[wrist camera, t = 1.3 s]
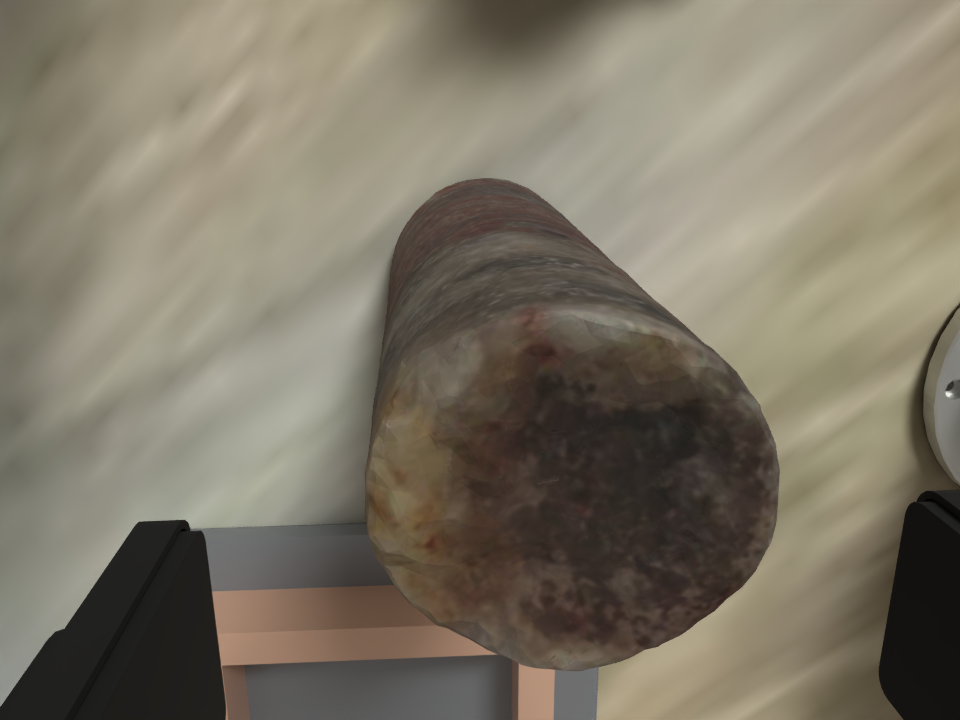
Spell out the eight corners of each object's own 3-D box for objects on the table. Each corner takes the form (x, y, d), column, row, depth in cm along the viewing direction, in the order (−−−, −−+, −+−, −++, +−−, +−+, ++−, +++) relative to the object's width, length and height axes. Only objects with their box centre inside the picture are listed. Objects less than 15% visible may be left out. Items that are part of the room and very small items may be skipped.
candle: (609, 311, 33) (849, 590, 14) (452, 394, 34) (475, 767, 15) (524, 142, 31) (670, 195, 12) (358, 233, 31) (240, 426, 12)
